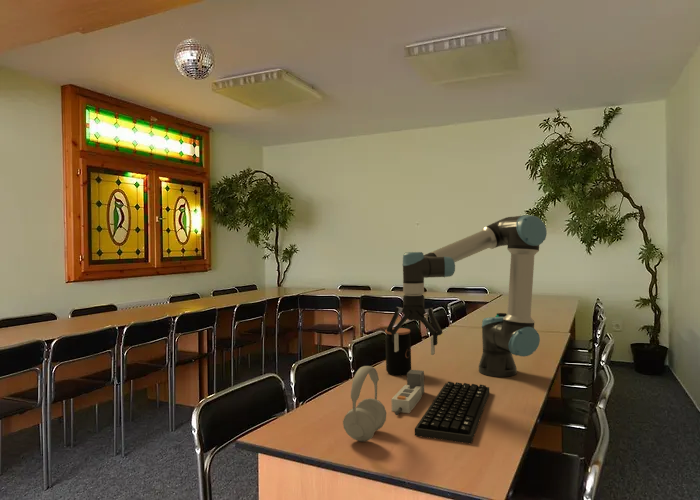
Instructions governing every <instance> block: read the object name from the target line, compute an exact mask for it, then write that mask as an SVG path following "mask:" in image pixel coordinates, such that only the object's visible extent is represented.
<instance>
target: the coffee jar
mask: <svg viewBox="0 0 700 500" xmlns="http://www.w3.org/2000/svg"><path fill="white" fill-rule="evenodd" d="M394 328H395V327H393V328H392V329H394ZM384 331H385V336H384V337H385V371H386V372H387V374H389V375H392V376H407V373H408V372H409V371H410V370H412V346H411V345H412V341H411V337H412V336H411V335H410V333H411V329H410V328H407V327H406V328H405V327H404V328H403V327H400V328H399V329H398V331H397V332H396V333H398V343H399V351H397V352H394V342H392V334H391V333H390V332H387V328H386V329H385V330H384Z"/></svg>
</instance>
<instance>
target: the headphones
mask: <svg viewBox="0 0 700 500" xmlns="http://www.w3.org/2000/svg"><path fill="white" fill-rule="evenodd" d="M368 375H369V378H370V380H371V382H372V383H373V386H374V398H371V397H369V398H364V399H362V400H361V401H359V402H358V403H357V401H358V400H359V397H360V395H361V394H360V393H361V391H362V388H363V385H364V382H365V379H366V378H367V377H368ZM378 382H379V374H378V371H377V369H376V368H375V367H374V366H371V365H363V366H361V367H359V368H358V369H357V371H356V372H355V374H354V376H353V379H352V383H351V389H350V399H351V401H352V409H350V410H348V411H347V413H346V414H345V416H344V418H343V419H342V425H343V429H344V431H345V433H346V434H347V435H348V436H349V438H351V439H352V440H354V441H357V442H368V441H370V440H372V438H373V437H374V434H375V432H376V431H378V430H380V429H382V428H383V426H384V425H385V422H386V421H387V410H386V407H385V405H384V404H383V403H382V402H381V401H380V400H378Z"/></svg>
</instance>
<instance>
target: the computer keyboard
mask: <svg viewBox="0 0 700 500" xmlns="http://www.w3.org/2000/svg"><path fill="white" fill-rule="evenodd" d="M489 395H490V387H489V386H487V385H486V384H485V385H484V384H481V383H480V384H479V385H478V384H474V383H471V384H470V383H466V382H464V383H462V382H452V381H447V382H445V384H443V386H442V388H441V389H440V391H439V392H438V394H437V395H436V397H434V399H433V401H432V402H431V404H430V405H429V407H427V410H426V411H425V413H424V414H423V415H422V417H421V418H420V420H419V421H418V423H417V424H416V426H415V427H414V436H415V435H417V436H416V437H420V436H422V437H421V438H427V437H428V438H429V437H430V438H429V439H434V438H436V439H435V440H441V439H442V440H443V441H449V442H455V441H456V442H457V443H462V442H463V443H465V444H469V443H470V444H471V445H472V444H473V443H472V442H473V440H474V438H473V437H475V435H474V434H476V432H475V431H477V429H478V426H479V424H478V423H480V421H481V417H482V415H483V412H484V410H485V406H486V404H487V401H488V398H489ZM479 420H480V421H479Z"/></svg>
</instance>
